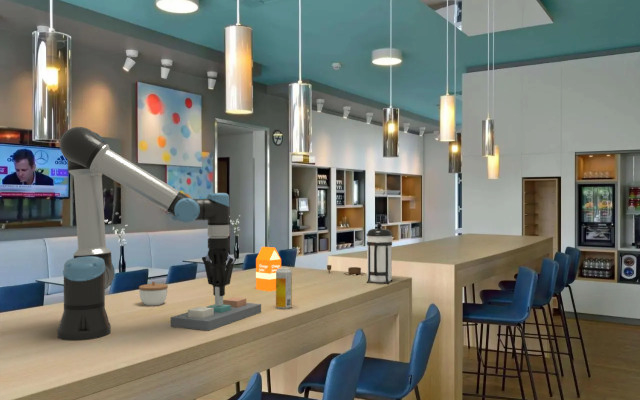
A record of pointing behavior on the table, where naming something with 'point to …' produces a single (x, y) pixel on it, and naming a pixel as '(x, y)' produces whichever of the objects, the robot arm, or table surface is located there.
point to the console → (215, 318)
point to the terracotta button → (235, 302)
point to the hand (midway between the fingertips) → (219, 305)
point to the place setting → (349, 270)
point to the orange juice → (267, 268)
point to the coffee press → (379, 255)
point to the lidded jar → (153, 294)
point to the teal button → (220, 308)
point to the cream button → (200, 312)
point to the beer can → (283, 288)
